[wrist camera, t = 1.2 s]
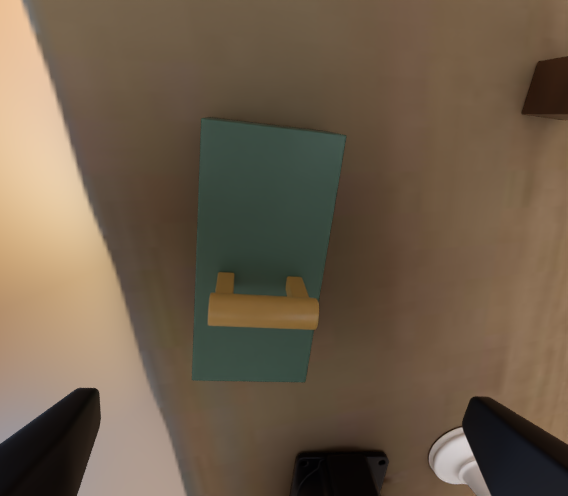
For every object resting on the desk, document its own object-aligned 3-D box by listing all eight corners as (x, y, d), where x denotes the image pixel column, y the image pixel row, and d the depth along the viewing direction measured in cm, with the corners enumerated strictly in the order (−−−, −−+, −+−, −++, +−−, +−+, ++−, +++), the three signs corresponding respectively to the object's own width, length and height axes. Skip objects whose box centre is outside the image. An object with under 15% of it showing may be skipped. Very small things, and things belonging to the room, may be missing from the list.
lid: (303, 376, 19) (317, 435, 15) (193, 373, 18) (181, 436, 14) (343, 134, 14) (375, 141, 11) (202, 117, 14) (189, 119, 10)
